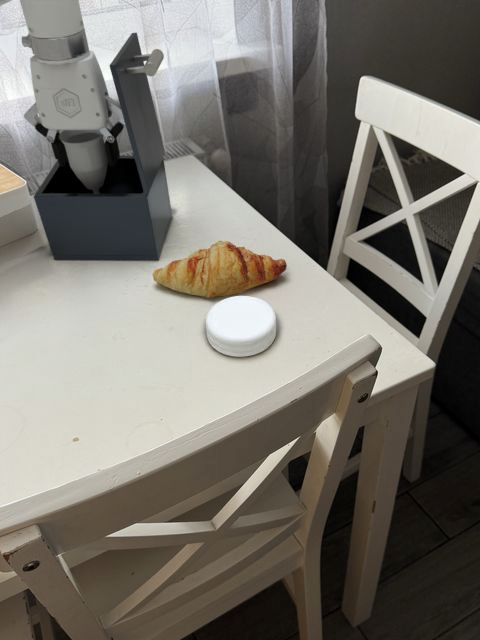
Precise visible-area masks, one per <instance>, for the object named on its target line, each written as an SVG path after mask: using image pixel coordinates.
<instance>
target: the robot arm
mask: <svg viewBox="0 0 480 640" xmlns="http://www.w3.org/2000/svg"><path fill="white" fill-rule="evenodd" d="M11 1H12V0H0V7H2V6H3V5H6V4H7V3H9V2H11ZM19 3H20V7H21V10H22V13H23V17H24V21H25V24H26V27H27V31H28V34H27V35H26V36H21V44H22V46H23V47H24V48H29V49H31V51H32V54H33V56H31V57H30V58H29V65H30V75H31V82H32V83H31V84H32V89H33V95H34V101H35V102H34V103H33V104H32V105H31V106H30V108H29V109H28V110H26V112H25V113H24V114H23V118H24V119H25V120H26V121H27V122H28V123H29V124H30V125H31V126H32V127H34V129H35V131H36V132H38V133H39V134H40V135H42V136H43V137H44V138H46V141H47V142H48V143H49V144H50V145H51V148H52V151H53V155H54V158H55V160H58V162H59V166H60V167H64V166H65V165H66V163H67V162H68V156H67V153H66V149H65V145H64V143H63V142H62V141H61V140H60V139H59V135H60V133H61V131H64V130H99V131H100V132H101V133H102V135H103V138H105V141H104V145H105V150H106V154H107V159H108V164H109V166H110V167H114V166H115V164H116V162H117V160H118V159H119V157H120V156H121V153H120V149H119V148H120V147H119V143H118V137H119V135H120V134H121V133H122V131H123V130H124V128H125V127H126V125H125V121H124V117H123V114H122V110H121V106H120V103H119V101H116V100H115V99H114V98H112V97H110V95H109V91H108V87H107V84H106V80H105V77H104V75H103V71H102V68H101V66H100V63H99V61H98V58H97V56H96V54H95V52H94V51H93V50H90V48H89V44H88V38H87V33H86V28H85V23H84V20H83V15H82V9H81V5H80V1H79V0H19ZM113 114H115V115H116V116H117V117H118V120H117V121H116V123H114V124H113V122H112V121H111V119H110V118H111V117H113V116H112V115H113Z"/></svg>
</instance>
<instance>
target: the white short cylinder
mask: <svg viewBox="0 0 480 640" xmlns="http://www.w3.org/2000/svg"><path fill="white" fill-rule="evenodd" d="M205 328H206V337H207V340H208V342H209V344H210V346H211V347H212V348H213V349H215V350H216V351H217V352H218V353H221V354H223V355H226V356H229V357H237V358H238V357H243V358H244V357H249V356H251V357H252V356H254V355H257V354H259V353H262V352H263V351H265V350H267V349H268V348H269V347H270V346H271V345H272V344H273V342H274V341H275V338H276V336H277V315H276V312H275V310H274V308H273V307H272V306H271V304H269V303H268V302H267V301H265V300H263V299H261V298H258V297H255V296H250V295H234V296H230V297H227V298H224V299H221V300H220V301H218V302H217V303H215V304H213V305H212V307H210V309H208V311H207V314H206V317H205Z"/></svg>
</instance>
